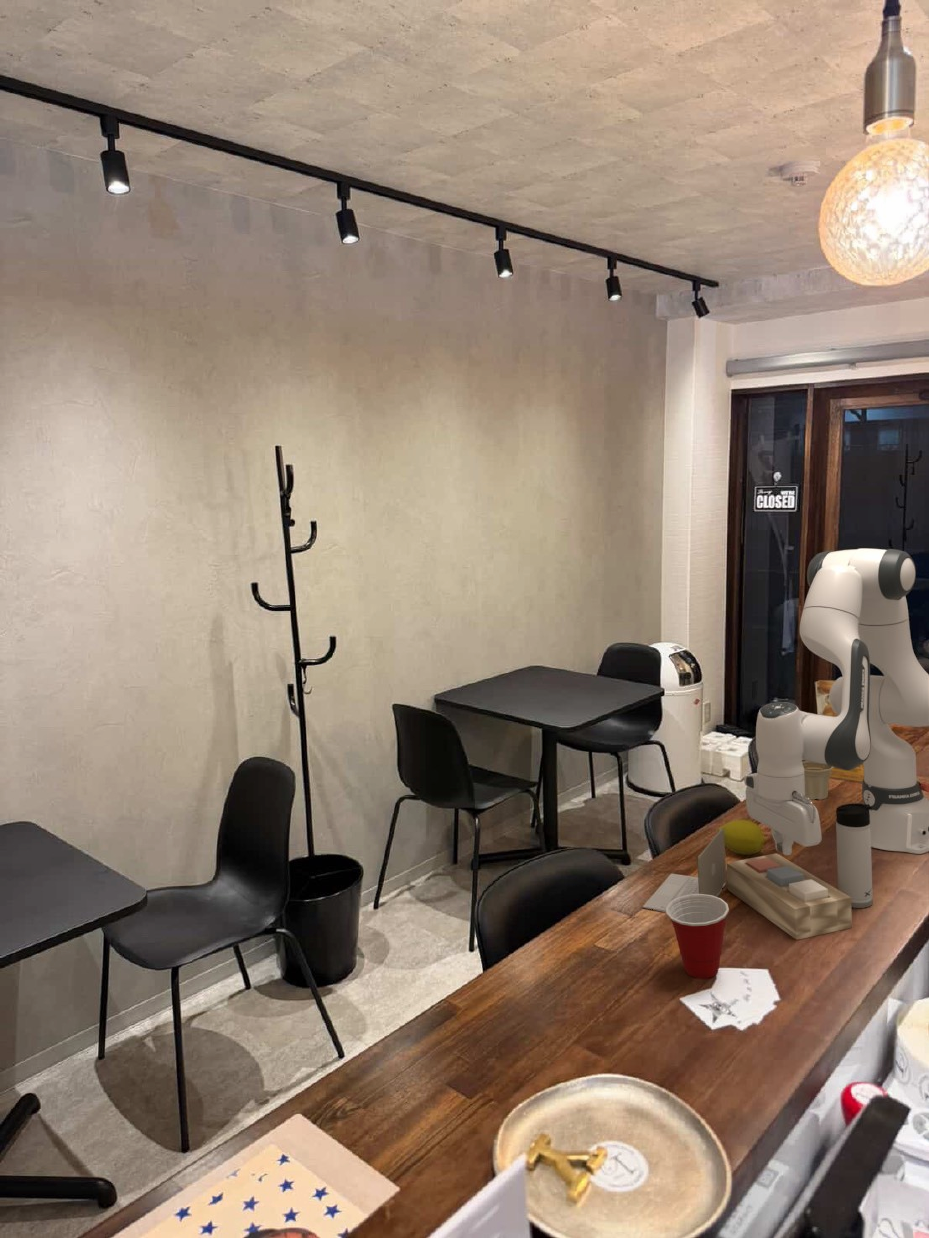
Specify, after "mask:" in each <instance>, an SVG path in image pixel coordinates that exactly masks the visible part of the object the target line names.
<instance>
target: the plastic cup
mask: <svg viewBox="0 0 929 1238" xmlns="http://www.w3.org/2000/svg"><path fill="white" fill-rule="evenodd" d="M729 910H730V909H729V905H728V903H727V902H726V901H725V900H723V899H722V898H721V897H718V896H717V897H715V896H713V895H705V894H691V895H685V896H681V897H678V898H676V899H674V900H672V901H671V902H670V903H669V904H668V905H667V907H666V912H665V913H666V915H667V917H668V918H669V919H670V922H671V923H672V927H673V928H674V932H675V937H676V941H677V944H678V945H677V946H678V950H679V953H680V955H681V959H682V964H683V968H684V970H685V973H687V975H688V976H691V977H693V978H698V979H710V978H713V977H715V976H716V975H717V974H718V973H719V969H720V963H721V962H720V961H721V955H722V949H723V941H724V931H725V925H726V921H727V915H728V914H729V912H730V911H729Z"/></svg>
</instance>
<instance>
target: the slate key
mask: <svg viewBox="0 0 929 1238" xmlns="http://www.w3.org/2000/svg"><path fill="white" fill-rule="evenodd" d="M767 879H769V880H770V881H772V882H774V883H775V884H777V885H778V886H780V887H785V886H789V884H790V883H795V882H800V881H804V874H802V873H800V872H799V871H797V870H795V869H794V868H792V867H790V866H789V865H788V866H783V867H778V868H773V869H767Z"/></svg>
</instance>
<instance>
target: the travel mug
mask: <svg viewBox="0 0 929 1238" xmlns="http://www.w3.org/2000/svg"><path fill="white" fill-rule="evenodd" d="M869 810H872V808H871V806H870V805H869V804H865V805H864V803H858V802H857V803H856V802H855V803H854V802H853V803H845V804H842V805H840V806H837V807H836V810H835V817H836V818H835V823H836V824H835V828H836V829H835V830H836V833H835V834H836V856H837V858H836V859H837V860H836V861H837V889H838V890H839V891H841V892H843V893H844V894H846V895H848V896H849V897H851V908H852V907H853V908H852V909H866V908H869V907H870V906H872V905H873V903H874V902H873V901H874V900H873V869H872V868H873V867H872V847H871V830H870V814H869ZM865 907H866V908H865Z"/></svg>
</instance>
